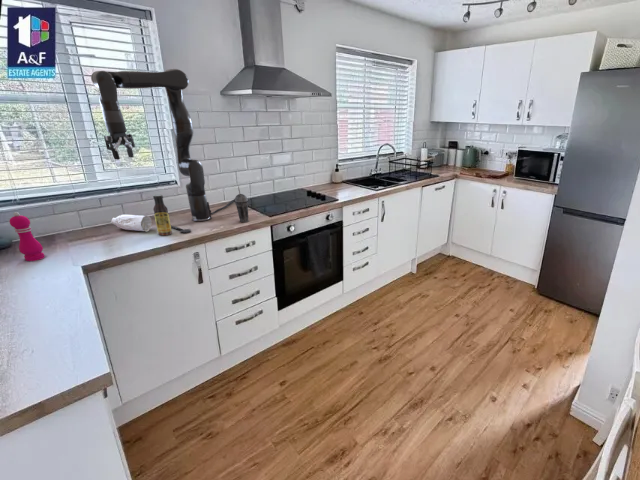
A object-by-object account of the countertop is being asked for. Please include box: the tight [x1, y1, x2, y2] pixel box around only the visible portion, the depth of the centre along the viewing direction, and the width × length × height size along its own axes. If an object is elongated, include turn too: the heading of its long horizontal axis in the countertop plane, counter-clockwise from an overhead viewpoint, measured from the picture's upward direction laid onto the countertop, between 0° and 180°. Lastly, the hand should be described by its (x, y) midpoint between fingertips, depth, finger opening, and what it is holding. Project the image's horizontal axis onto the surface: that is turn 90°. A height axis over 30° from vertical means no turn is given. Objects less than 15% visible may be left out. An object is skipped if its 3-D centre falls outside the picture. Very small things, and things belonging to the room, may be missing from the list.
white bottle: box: [110, 214, 153, 232], centre depth 191 cm, size 8×19×8 cm, turn 82°
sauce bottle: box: [152, 194, 173, 236], centre depth 184 cm, size 7×6×20 cm
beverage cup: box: [234, 186, 249, 223], centre depth 208 cm, size 7×7×20 cm
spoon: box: [171, 225, 192, 235], centre depth 195 cm, size 5×18×1 cm, turn 60°
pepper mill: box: [9, 211, 46, 262], centre depth 151 cm, size 7×7×20 cm
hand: (124, 158), depth 176 cm, fingers open, 8 cm apart
